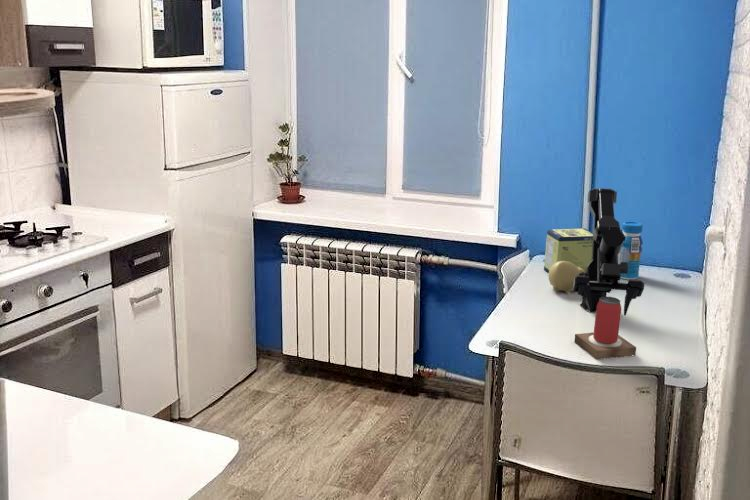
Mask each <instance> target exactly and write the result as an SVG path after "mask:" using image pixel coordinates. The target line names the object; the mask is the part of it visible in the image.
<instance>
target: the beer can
mask: <svg viewBox="0 0 750 500" xmlns="http://www.w3.org/2000/svg"><path fill="white" fill-rule="evenodd" d="M621 316H622V305H621V300H620V299H619V298H617V297H615V296H614V297H613V296H606V297H601V298H600V299H599V302H598V304H597V308H596V311H595V316H594V317H595V319H594V326H593V333H594V334H593V337H594V339H595V340H596V341H598V342H600V343H604V344H613V343H615V342H617V340H618V335H619V333H620V323H621Z"/></svg>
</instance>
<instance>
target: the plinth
mask: <svg viewBox="0 0 750 500" xmlns="http://www.w3.org/2000/svg"><path fill="white" fill-rule="evenodd" d="M593 334H594V332H585V333H583V332H582V333H575V334H574V341H573V342H574V344H576V345H577V346H578V347H580V348H581V349H582V350H583V351H585V352H586V353H587V354H589V355H590V356H591V357H592V358H593V359H595V360H605V359H613V358H614V359H615V358H616V357H617V358H625V357H624V356H627V357H633V356H632V355H635V356H636V352H637V346H636V345H633V343H631V342H629V341H628V340H627V339H625V338H624V337H622V336H621V335H619V334H618V340H617V342H615V343H613V344H604V343H600V342H598V341H596V340H595V339H594V337H593ZM604 358H605V359H604Z"/></svg>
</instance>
